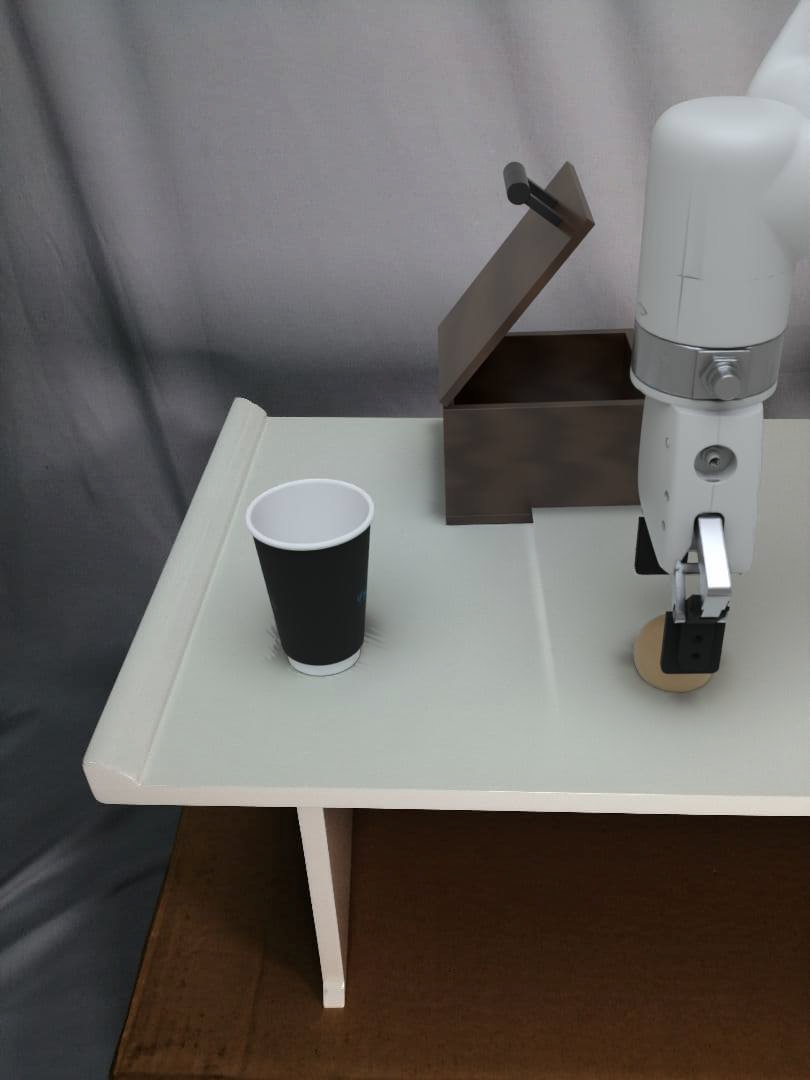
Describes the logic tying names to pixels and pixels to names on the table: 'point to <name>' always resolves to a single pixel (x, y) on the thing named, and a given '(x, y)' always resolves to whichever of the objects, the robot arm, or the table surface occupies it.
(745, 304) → the robot arm
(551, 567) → the table surface
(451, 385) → the box lid
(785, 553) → the table surface
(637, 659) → the tan ball
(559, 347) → the box
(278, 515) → the dixie cup
